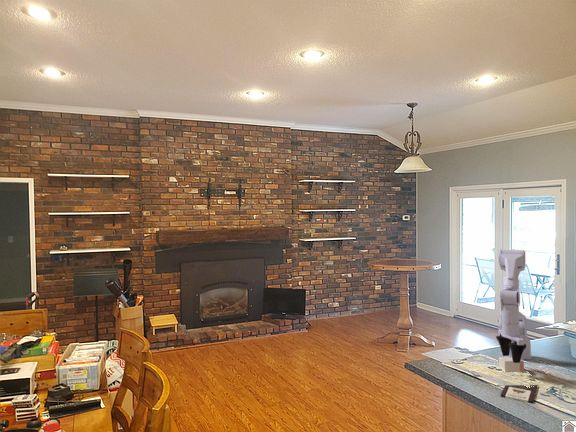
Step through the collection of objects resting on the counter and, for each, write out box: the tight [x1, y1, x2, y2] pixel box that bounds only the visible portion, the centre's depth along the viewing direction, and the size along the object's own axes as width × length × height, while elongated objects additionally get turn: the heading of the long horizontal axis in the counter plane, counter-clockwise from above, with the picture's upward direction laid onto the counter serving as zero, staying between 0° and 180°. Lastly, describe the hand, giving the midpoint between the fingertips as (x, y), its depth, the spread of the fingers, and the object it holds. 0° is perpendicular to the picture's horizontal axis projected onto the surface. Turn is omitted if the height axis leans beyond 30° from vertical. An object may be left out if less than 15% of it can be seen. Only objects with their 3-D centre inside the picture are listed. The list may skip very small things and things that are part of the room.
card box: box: [498, 356, 525, 372], centre depth 156 cm, size 4×7×4 cm, turn 90°
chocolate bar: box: [500, 384, 539, 404], centre depth 139 cm, size 9×1×18 cm
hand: (510, 358), depth 156 cm, fingers open, 7 cm apart
